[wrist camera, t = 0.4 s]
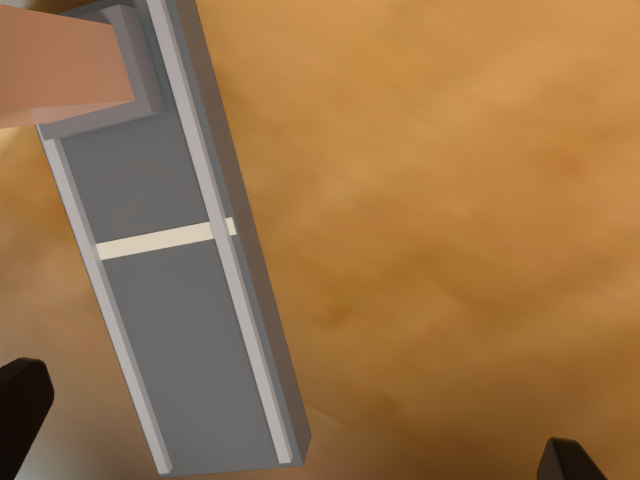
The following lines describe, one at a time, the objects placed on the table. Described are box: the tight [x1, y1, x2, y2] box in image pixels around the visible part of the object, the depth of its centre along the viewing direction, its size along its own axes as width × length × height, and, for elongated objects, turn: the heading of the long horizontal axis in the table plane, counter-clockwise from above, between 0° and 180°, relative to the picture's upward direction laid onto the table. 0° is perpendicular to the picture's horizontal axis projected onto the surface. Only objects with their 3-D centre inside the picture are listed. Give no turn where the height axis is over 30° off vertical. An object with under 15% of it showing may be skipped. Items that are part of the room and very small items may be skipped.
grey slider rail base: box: [35, 0, 311, 478], centre depth 23 cm, size 20×7×2 cm, turn 13°
